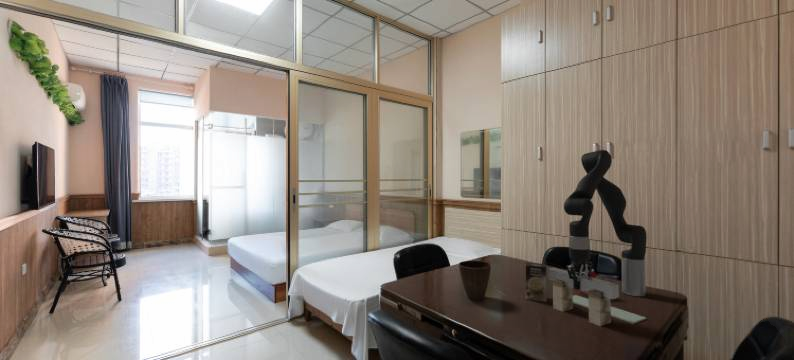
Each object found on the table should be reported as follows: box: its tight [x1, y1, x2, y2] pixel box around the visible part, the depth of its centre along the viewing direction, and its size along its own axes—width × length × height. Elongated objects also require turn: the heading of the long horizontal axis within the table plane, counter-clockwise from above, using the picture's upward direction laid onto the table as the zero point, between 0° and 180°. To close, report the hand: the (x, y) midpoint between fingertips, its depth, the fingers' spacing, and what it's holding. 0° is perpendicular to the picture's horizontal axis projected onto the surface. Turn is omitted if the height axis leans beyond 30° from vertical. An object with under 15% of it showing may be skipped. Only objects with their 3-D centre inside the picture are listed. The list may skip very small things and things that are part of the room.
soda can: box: [578, 268, 597, 297], centre depth 160 cm, size 7×7×12 cm
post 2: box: [587, 290, 612, 327], centre depth 129 cm, size 7×4×12 cm, turn 117°
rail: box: [547, 267, 620, 300], centre depth 136 cm, size 4×28×5 cm, turn 27°
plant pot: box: [458, 260, 492, 301], centre depth 158 cm, size 15×15×16 cm
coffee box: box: [525, 262, 548, 303], centre depth 156 cm, size 9×6×16 cm
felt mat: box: [573, 294, 647, 324], centre depth 143 cm, size 9×30×1 cm, turn 27°
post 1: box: [552, 279, 574, 313], centre depth 143 cm, size 7×4×12 cm, turn 117°
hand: (580, 288), depth 136 cm, fingers closed on rail, 4 cm apart
